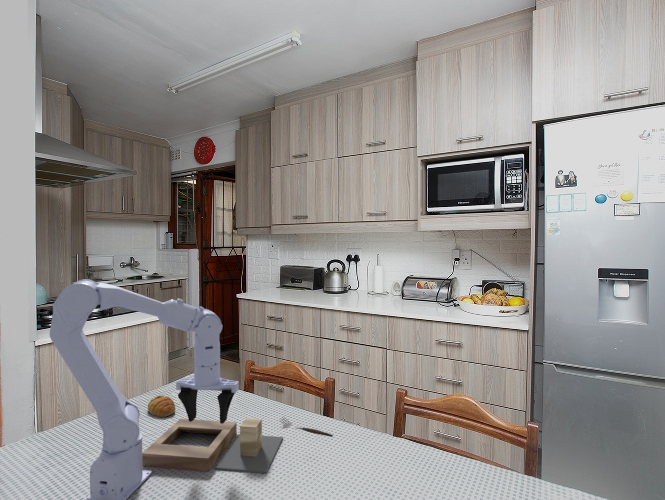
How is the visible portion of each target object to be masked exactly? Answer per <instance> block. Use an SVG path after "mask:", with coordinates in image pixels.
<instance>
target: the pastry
mask: <svg viewBox="0 0 665 500" xmlns="http://www.w3.org/2000/svg"><path fill="white" fill-rule="evenodd" d="M147 411H148V413H149V414H151V415H153V416H155V417H160V418H162V417H163V418H166V417H168V416H170V415H172V414H175V411H176V404H175V402H174V400H173V399H172V398H170V397H169V396H164V395H156V396H154V398H152V399H150V401H149V402H148V404H147Z"/></svg>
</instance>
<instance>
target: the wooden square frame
mask: <svg viewBox="0 0 665 500" xmlns="http://www.w3.org/2000/svg"><path fill="white" fill-rule="evenodd" d="M237 427H238V426H237V421H225V422H224V423H223V424H221V423H220V420H208V419H207V420H205V419H194V420H193V421H192V422H189V419H188V418H179V419H178V420H177V421H175V423H174V424H173V425H171V426H170V427H169V428H168V429H167V430H166V431H165V432H164V433H162V435H161V436H159V437H158V438H157V439H156V440H155V441H154V442H153V443H151V444H150V445H149V446H148V447H147V448H146V449H145V450H144V451H142V463H143V467H147V468H149V467H150V468H159V469H170V470H171V469H175V470H184V471H196V472H209V471H210V470H211V469H212V467H213V466H214V464H215V463H216V462H217V461H218V460H219V458H220V457H221V456H222V454H223V453H224V452H225V450H226V449H227V447H228V446H229V444H230V443H231V442H232V440H233V439H234V438H235V436H237V430H238V428H237ZM182 433H195V434H211V435H217V436H216V437H215V438H214V440H213V441H212V443H210V445H208V446H206V447H205V446H193V445H181V444H179V445H178V444H171V443H172V442H173V441H174V440H175V439H176V438H177V437H178V436H179V435H180V434H182Z"/></svg>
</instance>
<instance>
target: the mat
mask: <svg viewBox="0 0 665 500" xmlns="http://www.w3.org/2000/svg"><path fill="white" fill-rule="evenodd" d="M283 440H284V437H283V436H273V435H272V436H271V435H262V448H261V450H260V451H259V453H258V455H257V456H244V455H240V433H239V434H238V435H236V437H235V439H234V440H233V442H232V443H231V444H230V445H229V447H228V448H227V450H226V451H224V454H223V455H222V457H221V458H220V460H218V462H217V464H216V465H215V466H214V470H221V471H233V472H234V471H236V472H243V473H244V472H247V473H256V474H257V473H260V474H267V472H268V471H269V468H270V467H271V465H272V462H273V460H274V459H275V456H276V454H277V452H278V450H279V448H280V446H281V444H282V442H283Z"/></svg>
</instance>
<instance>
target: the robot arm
mask: <svg viewBox="0 0 665 500" xmlns="http://www.w3.org/2000/svg"><path fill="white" fill-rule="evenodd" d="M98 305H100V307H99V308H100V311H104V310H107V309H113V308H116V307H117V308H118V307H119V308H122V309H123V308H124V309H128V310H132V311H134V312H139V313H142V314H143V313H144V314H146V315H149V316H150V315H151V316H153V317H157V318H158V321H159V323H160V324H161V325H163V326H166V327H170V328H173V329H176V330H180V331H183V332H186V333H193V332H194V344H193V360H194V361H193V364H194V365H193V366H194V367H193V371H194V376H193V378H191V377H190V378H180V379H178V380H176V383H175V389H176V390H177V391H180V392H179V393H178V395H177V397H178V399H179V400H180V402H181V403H182V405H183V407H184V409H185V413H186V415H187V419H189V422H192V421H193V420H196V418H197V411H198V410H197V398H198V392H199V391H217V392H219V391H221V392H220V393H219V394H218V395H217V402H218V406H219V421H220V423H221V424H223V423H224V422H227V419H228V414H229V409H230V406H231V403H232V400H233V398H234V396H235V394H236V393H237V392H238V391H239V389H240V382H239V380H230V379H227V378H222V377H221V343H220V338H221V337H220V334H221V332H222V330H223V327H224V326H223V324H222V320H221V319H220V317H219V316H218V315H217V314H216V313H215V312H213V311H212V310H210V309H208V308H204V307H203V306H199V307H197V306H195V305H191V304H188V303H184V299H182V298H177V299H176V300H175V299H173V298H172V299H169V300H167V301H164V302H162V301H160V300H158V299H154V298H151V297H148V296H146V295H143V294H140V293H136V292H134V291H131V290H129V289H125V288H123V287H122V286H121V287H120V286H118V285H113V284H110V283H106V282H96V281H94V280H92V279H87V278H86V279H85V278H83V279H79V280H76V281H74V282H73V283H72V284H70V285H68V286H66V287H65V288H64V289H63V290H61V292H60V293H59V295H58V296H57V298H56V299H55V302H54V303H53V304H52V317H51V324H50V329H49V338H50V340H51V342H52V343H53V345H54V347H55V348H56V350H57V352H58V353H59V354H60V356H61V357H62V359H63V360H64V362H65V364H66V366H67V367H68V369H69V371H70V372H71V373H72V375H73V376H74V378H75V380H76V382H77V384H78V385H79V387H80V388H81V389H82V391H83V393H84V394H85V396H86V397H87V399H88V401H89V402H90V404H91V405H92V408H93V409H94V410H95V411H96V416H97V417H96V418H97V420H98V424H99V427H100V428H101V431H102V433H103V434H102V435H103V436H102V441H103V442H102V447H101V452H100V453H99V455H98V456H97V458H96V459H95V460H94V461H93V463H92V464H91V465H90V468H89V494H88V495H87V496H86V500H127V499H128V498H129V497H131V495H132V494H133V493H134V492H135V491H136V490H137V489H139V487H140V486H141V485H142V484H143V483H144V482H145V481H146V480H147V479H148V478H149V477H150V476H151V475H152V473H153V471H152V470H150V469H149V470H148V469H144V468H143V467H144V466H143V463H142V453H143V434H142V433H141V432H140V431H141V430H140V426H139V425H140V424H139V421H140V414H141V413H140V409H139V407H138V406H137V405H136V404H134V403H132V402H130V401H129V400H128V398H126V396H125V395H124V394H123V393H122V392H120V390H119V389H118V387H117V385H116V384H115V382H114V381H113V379H112V377H111V376H110V374H109V372H108V371H107V369H106V368H105V366H104V364H103V362H102V361H101V359H100V357H99V355H98V354H97V353H96V350H95V349H94V346H93V345H92V344H91V342H90V341H89V338H88V337H87V336H86V334H85V332H84V330H83V329H84V327H85V325H86V322H87V321H88V318H89V316H90V315H91V314H92V313H93V312H94V310H95V309H96V308H97V306H98Z"/></svg>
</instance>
